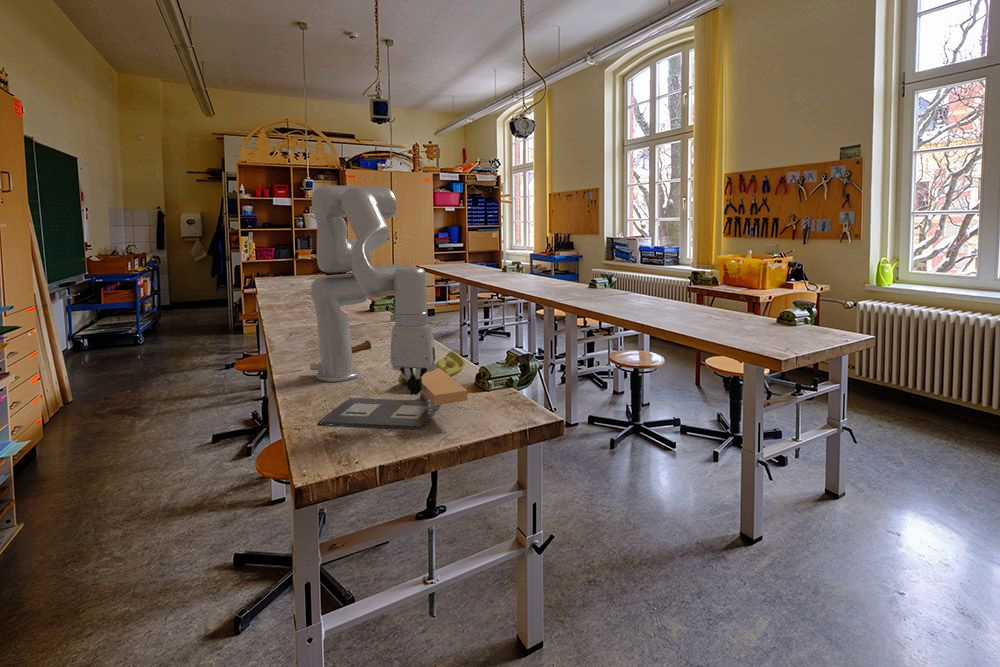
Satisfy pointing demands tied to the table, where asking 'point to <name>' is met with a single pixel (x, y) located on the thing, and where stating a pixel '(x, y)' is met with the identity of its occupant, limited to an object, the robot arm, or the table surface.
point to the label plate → (382, 413)
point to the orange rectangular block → (442, 388)
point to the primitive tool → (361, 346)
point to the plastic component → (444, 366)
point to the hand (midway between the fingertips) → (415, 393)
